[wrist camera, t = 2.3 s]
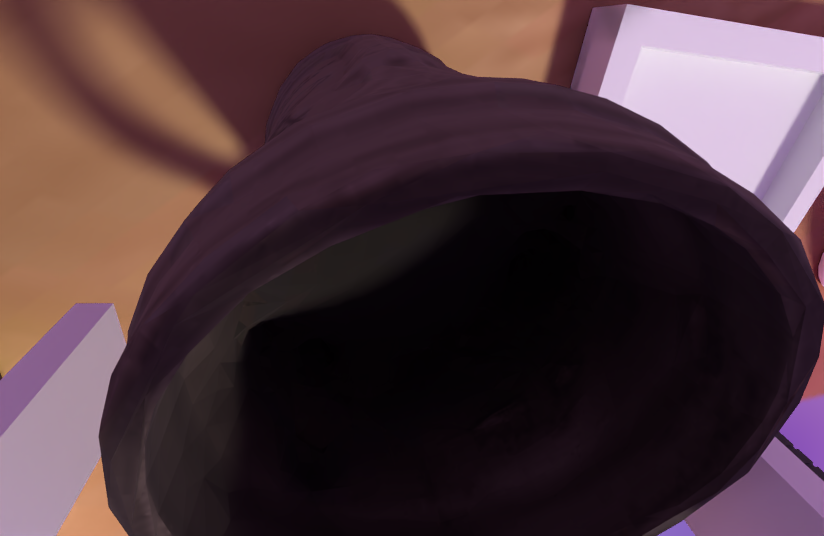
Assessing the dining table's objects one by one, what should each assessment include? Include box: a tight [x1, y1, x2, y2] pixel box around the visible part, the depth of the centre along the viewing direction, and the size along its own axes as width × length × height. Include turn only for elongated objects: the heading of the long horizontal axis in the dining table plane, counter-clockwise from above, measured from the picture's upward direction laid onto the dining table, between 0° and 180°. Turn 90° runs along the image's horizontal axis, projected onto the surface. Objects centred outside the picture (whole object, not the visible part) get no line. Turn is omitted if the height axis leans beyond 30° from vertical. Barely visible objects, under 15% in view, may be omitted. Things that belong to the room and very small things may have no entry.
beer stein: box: [98, 34, 824, 536], centre depth 15 cm, size 15×11×20 cm
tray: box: [570, 4, 824, 233], centre depth 26 cm, size 18×22×3 cm
